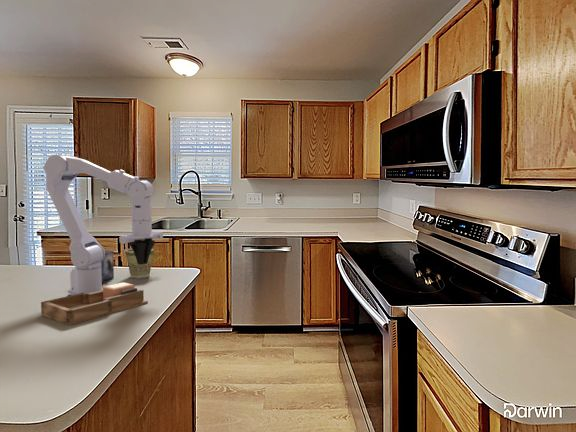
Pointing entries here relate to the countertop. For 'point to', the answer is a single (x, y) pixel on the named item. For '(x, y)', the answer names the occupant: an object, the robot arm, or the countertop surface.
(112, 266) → the small box
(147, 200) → the robot arm
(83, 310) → the wooden tray
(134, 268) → the ceramic cup
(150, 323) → the countertop surface
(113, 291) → the block
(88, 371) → the countertop surface
